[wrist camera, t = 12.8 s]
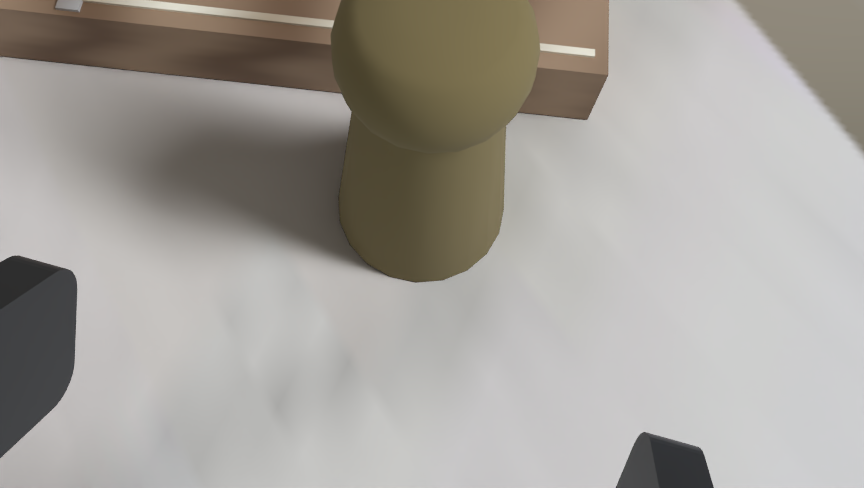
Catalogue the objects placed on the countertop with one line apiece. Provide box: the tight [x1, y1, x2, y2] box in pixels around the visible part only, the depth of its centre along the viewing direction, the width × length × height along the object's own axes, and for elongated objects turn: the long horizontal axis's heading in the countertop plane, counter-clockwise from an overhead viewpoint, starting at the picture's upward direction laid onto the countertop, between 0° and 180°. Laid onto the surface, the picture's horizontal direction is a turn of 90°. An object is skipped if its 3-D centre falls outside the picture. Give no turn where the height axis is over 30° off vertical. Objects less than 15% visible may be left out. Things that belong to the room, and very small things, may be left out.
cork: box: [330, 0, 540, 282], centre depth 22 cm, size 6×6×11 cm
